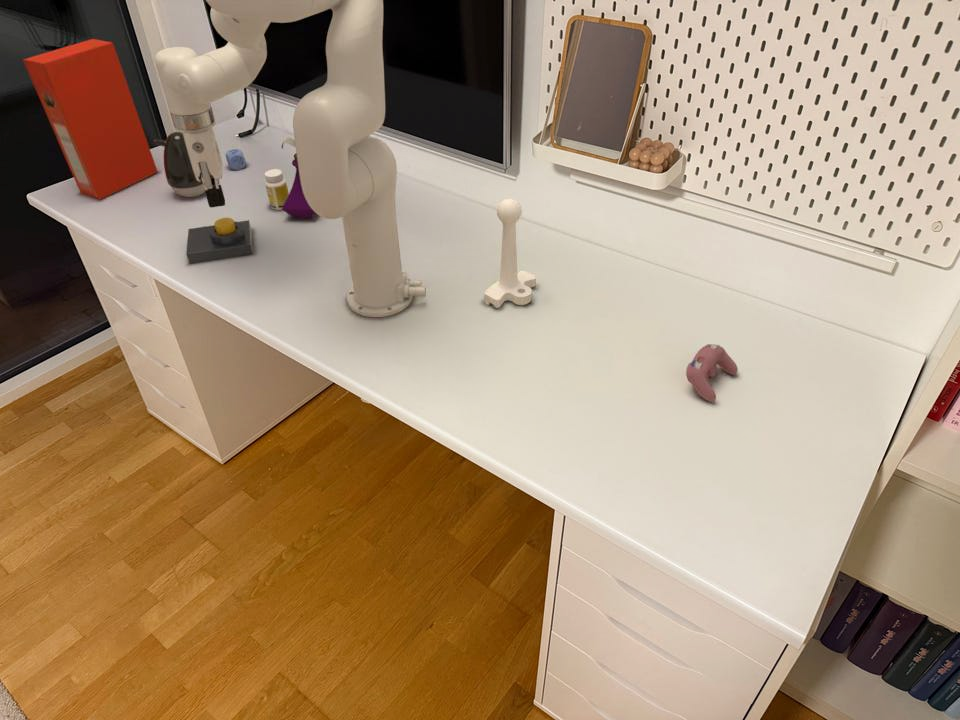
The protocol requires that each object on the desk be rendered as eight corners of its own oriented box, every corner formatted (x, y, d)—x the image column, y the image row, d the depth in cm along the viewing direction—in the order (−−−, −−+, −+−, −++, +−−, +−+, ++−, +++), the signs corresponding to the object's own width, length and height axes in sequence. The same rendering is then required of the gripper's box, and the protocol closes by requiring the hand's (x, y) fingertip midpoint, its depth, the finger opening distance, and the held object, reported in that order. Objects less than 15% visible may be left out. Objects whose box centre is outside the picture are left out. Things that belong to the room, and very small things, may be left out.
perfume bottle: (325, 207, 164) (311, 133, 152) (316, 222, 158) (301, 147, 147) (294, 206, 165) (278, 132, 153) (284, 221, 159) (267, 146, 147)
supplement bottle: (293, 201, 167) (286, 168, 161) (287, 210, 163) (280, 177, 158) (274, 200, 167) (266, 168, 162) (267, 210, 163) (259, 176, 158)
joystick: (519, 277, 139) (521, 185, 126) (548, 292, 135) (552, 199, 122) (480, 300, 134) (478, 206, 121) (508, 317, 129) (509, 221, 116)
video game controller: (715, 371, 119) (705, 335, 116) (740, 372, 115) (730, 335, 113) (689, 402, 113) (677, 366, 110) (715, 404, 110) (704, 366, 107)
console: (251, 229, 156) (246, 211, 153) (252, 254, 148) (248, 236, 145) (191, 238, 154) (185, 220, 151) (189, 264, 146) (183, 245, 143)
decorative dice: (231, 171, 180) (227, 156, 178) (228, 165, 183) (224, 151, 180) (247, 167, 182) (243, 153, 179) (243, 162, 184) (239, 147, 182)
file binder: (79, 193, 172) (22, 58, 152) (137, 166, 183) (91, 38, 163) (100, 200, 169) (44, 64, 148) (158, 173, 180) (113, 42, 160)
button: (235, 224, 150) (233, 216, 149) (236, 233, 147) (233, 225, 146) (216, 227, 149) (214, 219, 148) (216, 236, 146) (214, 228, 145)
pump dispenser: (169, 188, 173) (149, 129, 163) (211, 180, 176) (194, 121, 167) (173, 205, 166) (153, 144, 156) (218, 196, 169) (200, 136, 159)
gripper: (213, 130, 128) (236, 219, 140) (214, 102, 139) (235, 186, 150) (170, 135, 126) (197, 224, 138) (174, 106, 137) (199, 191, 149)
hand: (217, 204), depth 144 cm, fingers closed
